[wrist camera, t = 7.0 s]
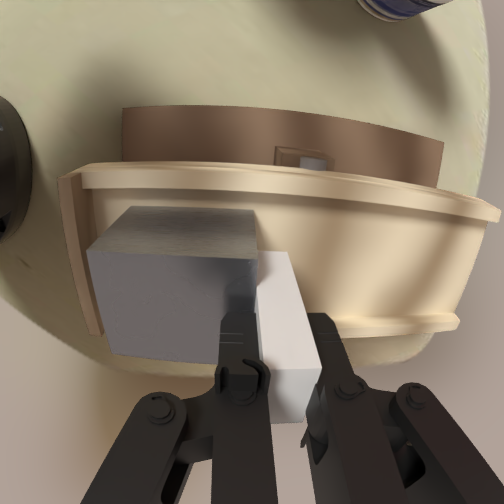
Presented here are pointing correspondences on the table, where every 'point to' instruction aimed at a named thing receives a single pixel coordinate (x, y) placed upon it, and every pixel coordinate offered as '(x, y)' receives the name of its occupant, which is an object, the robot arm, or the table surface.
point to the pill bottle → (398, 8)
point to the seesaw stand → (277, 141)
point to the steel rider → (173, 279)
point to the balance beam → (305, 234)
